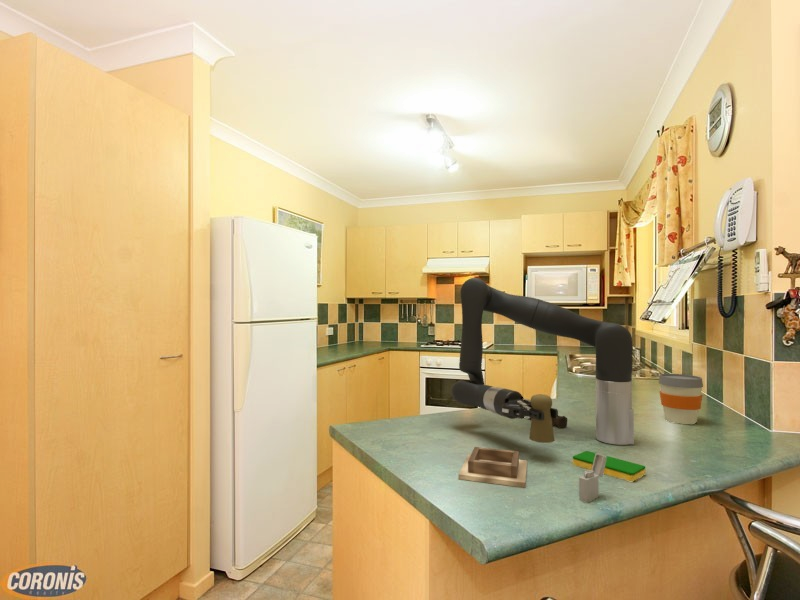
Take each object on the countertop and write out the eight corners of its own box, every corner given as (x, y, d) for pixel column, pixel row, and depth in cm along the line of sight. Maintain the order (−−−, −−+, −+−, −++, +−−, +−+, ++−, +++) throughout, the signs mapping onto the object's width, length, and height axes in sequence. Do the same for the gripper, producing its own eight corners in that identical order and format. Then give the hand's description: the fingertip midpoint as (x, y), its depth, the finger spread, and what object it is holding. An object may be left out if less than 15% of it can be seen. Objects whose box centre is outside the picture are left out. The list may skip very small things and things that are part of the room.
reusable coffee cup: (712, 426, 138) (712, 379, 138) (673, 426, 138) (673, 379, 138) (687, 416, 150) (686, 373, 150) (651, 416, 150) (650, 373, 151)
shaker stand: (527, 464, 103) (527, 449, 103) (525, 487, 89) (525, 470, 89) (468, 458, 107) (468, 443, 107) (458, 479, 94) (458, 462, 94)
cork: (528, 441, 106) (527, 396, 106) (530, 434, 111) (529, 391, 112) (554, 443, 103) (553, 398, 104) (555, 436, 109) (554, 393, 109)
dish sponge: (632, 484, 92) (632, 473, 92) (571, 466, 103) (571, 456, 103) (646, 476, 97) (646, 465, 97) (586, 459, 108) (586, 450, 108)
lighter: (586, 502, 83) (586, 460, 83) (578, 499, 84) (578, 458, 84) (607, 493, 87) (607, 453, 87) (599, 490, 88) (599, 451, 88)
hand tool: (568, 428, 136) (568, 413, 136) (560, 430, 134) (560, 415, 134) (523, 415, 152) (523, 402, 152) (515, 416, 150) (515, 403, 150)
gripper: (482, 390, 117) (528, 402, 102) (522, 386, 124) (570, 396, 108) (483, 418, 117) (528, 434, 102) (522, 412, 123) (571, 426, 108)
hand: (549, 415), depth 105 cm, fingers closed on cork, 4 cm apart
